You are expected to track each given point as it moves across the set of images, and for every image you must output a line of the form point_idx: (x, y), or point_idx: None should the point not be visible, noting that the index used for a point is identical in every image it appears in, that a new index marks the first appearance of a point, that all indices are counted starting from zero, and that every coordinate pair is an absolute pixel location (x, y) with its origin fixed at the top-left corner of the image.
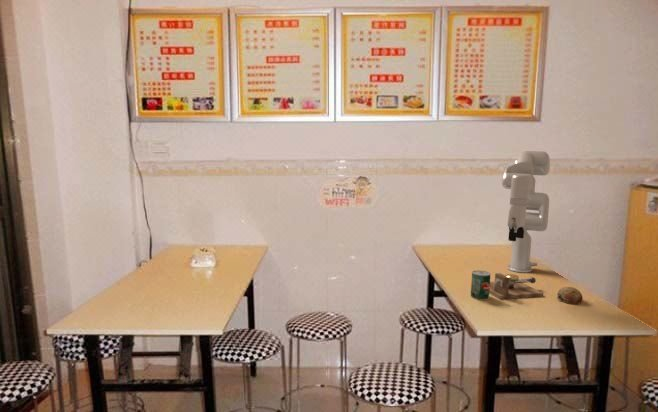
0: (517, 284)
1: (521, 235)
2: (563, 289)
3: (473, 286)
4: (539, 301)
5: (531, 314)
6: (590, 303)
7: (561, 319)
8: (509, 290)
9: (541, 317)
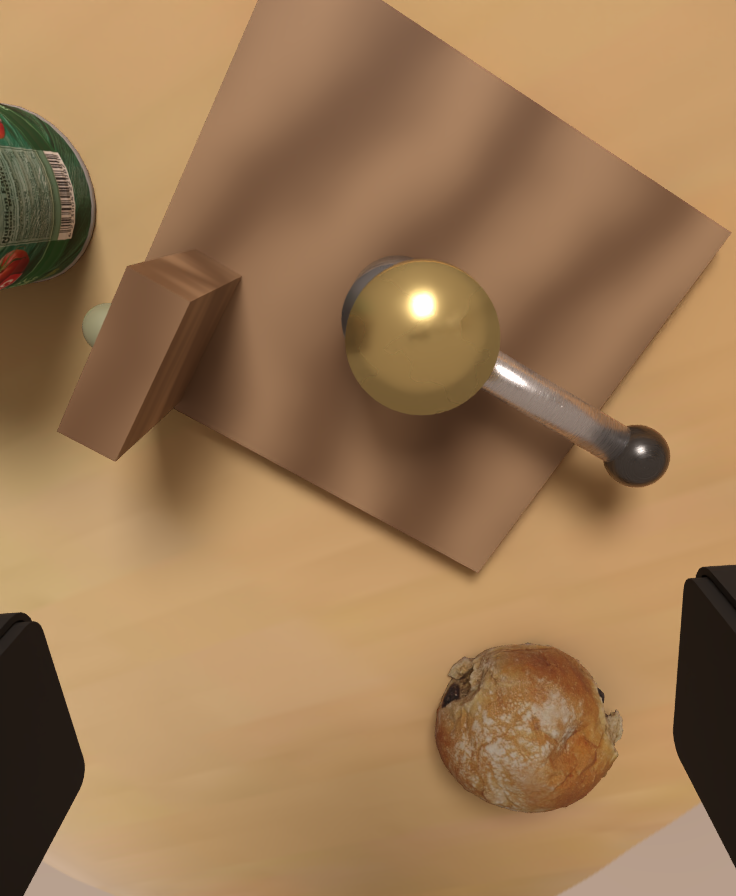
0: (568, 317)
1: (716, 779)
2: (495, 738)
3: None
4: (327, 581)
5: None
6: None
7: (111, 767)
8: (316, 350)
9: None
